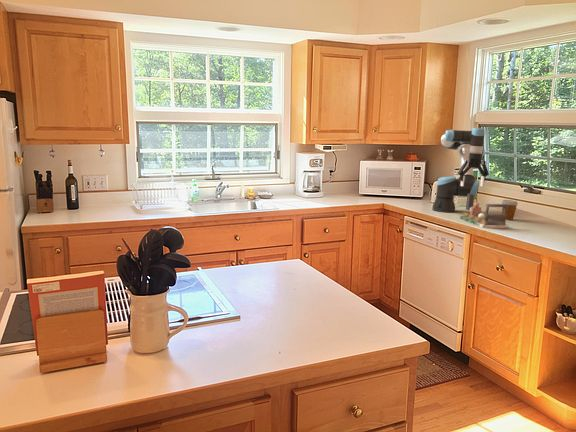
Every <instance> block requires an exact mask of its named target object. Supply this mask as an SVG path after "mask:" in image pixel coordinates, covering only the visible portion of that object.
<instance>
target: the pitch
mask: <svg viewBox="0 0 576 432" xmlns="http://www.w3.org/2000/svg"><path fill="white" fill-rule="evenodd" d="M502 207H504V213H503V215H502V214H489V211H490V208H502ZM507 207H508V205H507V204H502V203H501V204H498V203H486V204H485V213H484V212H482V211H481V213H483V214H484V215H485V218H484V219H481V218H479V217H476V216H474V215H471V214H470V213H468V212H465V211H462V215H460V216H459V219H461V220H463V221H465V222H468V223H470V224H472V223H473V224H472V225H475V226H478V227H479V228H482V229H483V228H484V229H486V228H489V229H490V228H492V229H493V228H494V229H496V228H497V229H499V228H502V229H503V228H504V229H505V228H508V224H506V223H507V222H506V221H507V220H505V219H506V212H507Z"/></svg>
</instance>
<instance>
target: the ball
mask: <svg viewBox="0 0 576 432" xmlns="http://www.w3.org/2000/svg"><path fill="white" fill-rule="evenodd" d="M483 213H484V212H482V213H480V214H479V215H478V217H479V218H481V219H484V218H485V215H484V214H483Z"/></svg>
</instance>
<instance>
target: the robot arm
mask: <svg viewBox="0 0 576 432" xmlns="http://www.w3.org/2000/svg"><path fill="white" fill-rule="evenodd" d="M485 132H486V129H485V128H484V127H472V129H471V130H459V129H458V130H455V129H446V130H445V133H444V134H443V135H442V136H441V138H440V145H441V146H442V147H443V148H445V149H448V150H453V151H456V152H457V154H458V156H459V158H458V159H459V170H458V172H457V175H459V177H458V178H457V177H456V176H442V177H439V178H438V179H437V184H436V185H437V186H436V194H435V199H434V202H433V204H432V205H431V206H432V207H431V208H432V209H431V210H433V211H436V212H438V213H439V212H440V213H455V212H456V205H455V200H454V199H455V197H464V198H467V194H474V198H475V197H476V196H477V194H478V192H479V191H478V190H479V187H483V188H484V184H485V182H486V177H487V176H490V173H489V170H488V167H487V162H486V160H482V159H483V157H482V156H483V147H484V141H485V140H484V139H485V135H486V133H485ZM475 168H476V169H478V171H479V172H480V174H481V176H480V181H479V180H478V179H477V177H476V176H475V175H474V169H475Z"/></svg>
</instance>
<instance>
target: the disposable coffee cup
mask: <svg viewBox="0 0 576 432" xmlns="http://www.w3.org/2000/svg"><path fill="white" fill-rule="evenodd" d="M501 204H507V205H508V207H507V212H506V219H505V221H513V220H514V217H515V214H516V211H517V206H518V205H519V203H518V201H517V200H513V199H502V201H501ZM501 212H502V214H501V215H503V213H504V207H501Z"/></svg>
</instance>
